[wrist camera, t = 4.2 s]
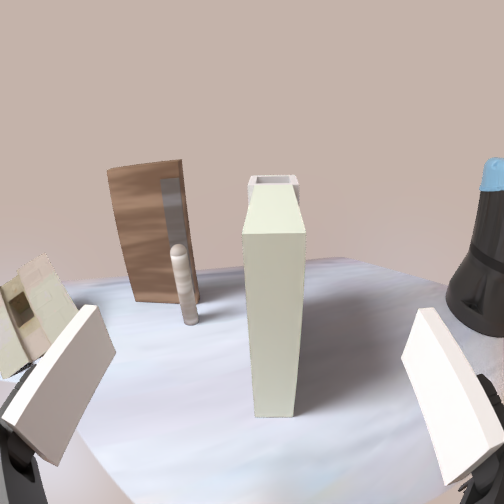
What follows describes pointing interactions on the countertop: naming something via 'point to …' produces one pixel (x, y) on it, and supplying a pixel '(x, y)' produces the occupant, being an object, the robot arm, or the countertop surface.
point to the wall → (32, 314)
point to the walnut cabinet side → (156, 233)
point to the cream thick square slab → (274, 290)
